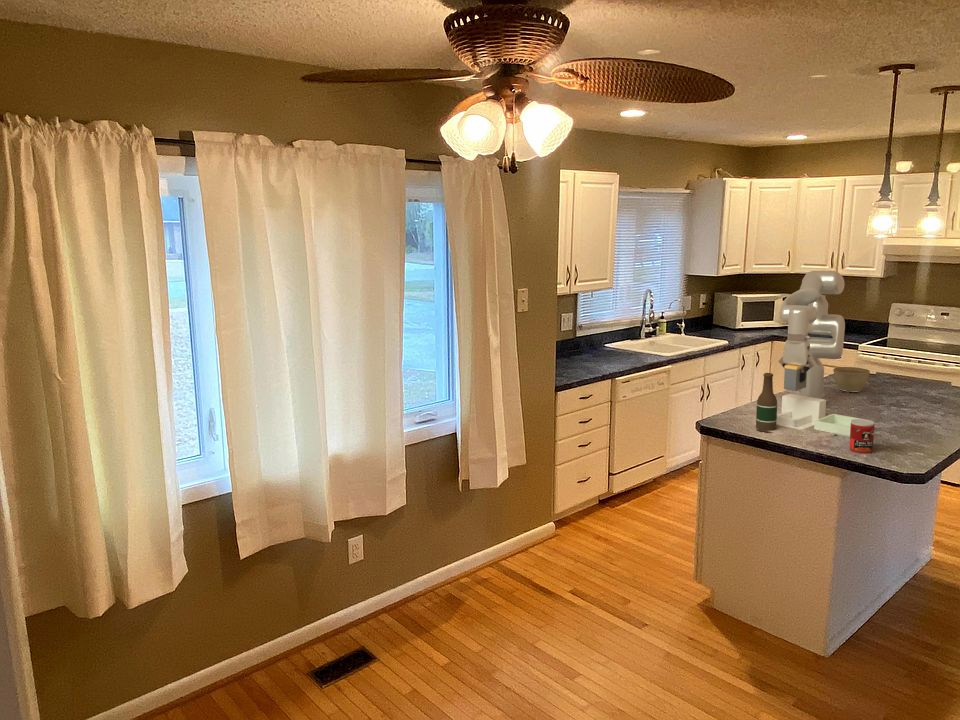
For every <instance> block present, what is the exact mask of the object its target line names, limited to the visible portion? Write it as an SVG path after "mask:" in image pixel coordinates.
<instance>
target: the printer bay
mask: <svg viewBox="0 0 960 720" xmlns="http://www.w3.org/2000/svg"><path fill="white" fill-rule="evenodd" d="M781 397H782V399H781V413H777V421H776V426H780V427H781V426H782V427H786V428H791V429H796V430H800V431H801V430H805V429H807V428H810V427H812V426H813V427H814V422H815V420H818V419H820V418H823V417H826V411H827V410H826V408H827V399H824V398H822V399H819V398H812V397H806V396H800V394H794V393H793V394H792V393H788V394H784V395H782V396H781Z"/></svg>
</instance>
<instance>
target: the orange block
mask: <svg viewBox="0 0 960 720" xmlns="http://www.w3.org/2000/svg"><path fill="white" fill-rule="evenodd" d="M807 366H808V365H806V367H807ZM784 368H785V369H784ZM783 369H784V374H783V375H784V377H783V390H786V391H793V392H797V391H799V390H800V389H803V388H806V380H807V372H806V379H805V381H804V382H800V373H801V366H799V365H791V364H790V365H785V366H784V367H783Z"/></svg>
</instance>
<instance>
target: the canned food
mask: <svg viewBox="0 0 960 720" xmlns="http://www.w3.org/2000/svg"><path fill="white" fill-rule="evenodd" d="M875 426H876V425H875V422H874V421H873V420H871V419H866V418H860V419H854V420H851V428H850V439H849V447H848V448H849V449H850V451H851V452H853V453H857V454H871V453H872V452H873V451H874V450H873V449H874V441H875V440H874V438H875Z"/></svg>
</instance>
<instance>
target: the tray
mask: <svg viewBox="0 0 960 720" xmlns="http://www.w3.org/2000/svg"><path fill="white" fill-rule="evenodd" d="M854 419H861V418H859V417H854V416H849V415H842V414H838V413H837V414H836V413H831V414H828V415H825V417H823V418H820V419H818V420H815V422H814V425H813V430H817V431H821V432H825V433H830V434H831V433H832V434H833V436H836V437H839V438H844V439H849V440H850V428H851V420H854Z"/></svg>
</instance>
